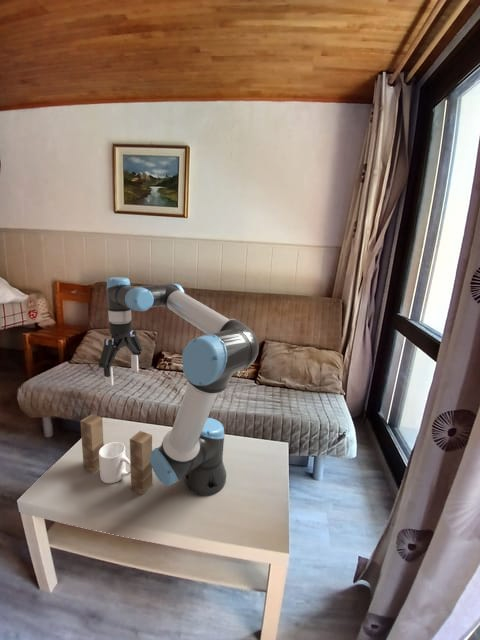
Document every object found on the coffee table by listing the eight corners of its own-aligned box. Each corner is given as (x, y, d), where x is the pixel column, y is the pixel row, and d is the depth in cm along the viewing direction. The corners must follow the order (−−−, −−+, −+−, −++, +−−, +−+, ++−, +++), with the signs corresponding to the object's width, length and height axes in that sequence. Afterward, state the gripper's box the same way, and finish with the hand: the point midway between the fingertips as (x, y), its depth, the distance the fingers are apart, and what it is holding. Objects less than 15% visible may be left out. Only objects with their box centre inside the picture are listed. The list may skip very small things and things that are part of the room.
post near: (152, 484, 108) (152, 434, 103) (142, 494, 104) (142, 443, 99) (140, 479, 110) (140, 430, 105) (131, 489, 105) (129, 438, 101)
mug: (123, 489, 105) (122, 463, 103) (94, 480, 108) (93, 454, 106) (138, 472, 113) (138, 447, 111) (111, 464, 116) (110, 439, 114)
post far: (104, 464, 116) (102, 417, 111) (94, 473, 112) (90, 424, 107) (94, 460, 118) (91, 414, 113) (83, 468, 113) (80, 420, 108)
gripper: (134, 313, 121) (136, 364, 126) (83, 328, 98) (88, 389, 103) (150, 316, 119) (151, 367, 124) (102, 331, 96) (106, 393, 101)
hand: (123, 377), depth 114 cm, fingers open, 13 cm apart
